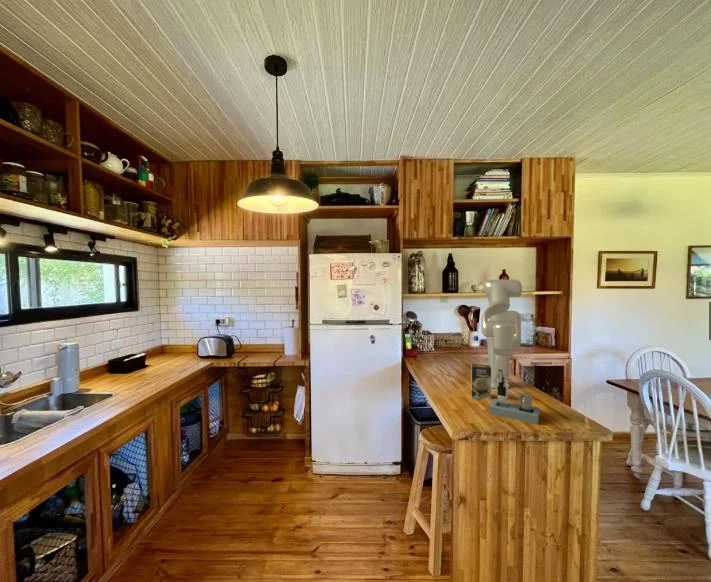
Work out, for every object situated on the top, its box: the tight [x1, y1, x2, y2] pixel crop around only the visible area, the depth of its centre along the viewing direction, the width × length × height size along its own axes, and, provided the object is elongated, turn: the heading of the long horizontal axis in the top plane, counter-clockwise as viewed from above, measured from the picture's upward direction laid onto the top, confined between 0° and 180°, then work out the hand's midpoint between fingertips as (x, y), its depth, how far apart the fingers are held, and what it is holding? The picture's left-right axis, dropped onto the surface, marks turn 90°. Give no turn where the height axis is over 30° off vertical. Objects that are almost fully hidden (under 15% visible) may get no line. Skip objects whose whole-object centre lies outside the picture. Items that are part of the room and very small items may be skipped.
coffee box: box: [470, 363, 492, 400], centre depth 151 cm, size 9×6×16 cm
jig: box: [488, 398, 541, 425], centre depth 129 cm, size 11×18×4 cm, turn 55°
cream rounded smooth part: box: [497, 377, 509, 402], centre depth 131 cm, size 4×4×9 cm
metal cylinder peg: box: [520, 393, 533, 413], centre depth 126 cm, size 4×4×9 cm
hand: (502, 393), depth 131 cm, fingers closed on cream rounded smooth part, 4 cm apart
